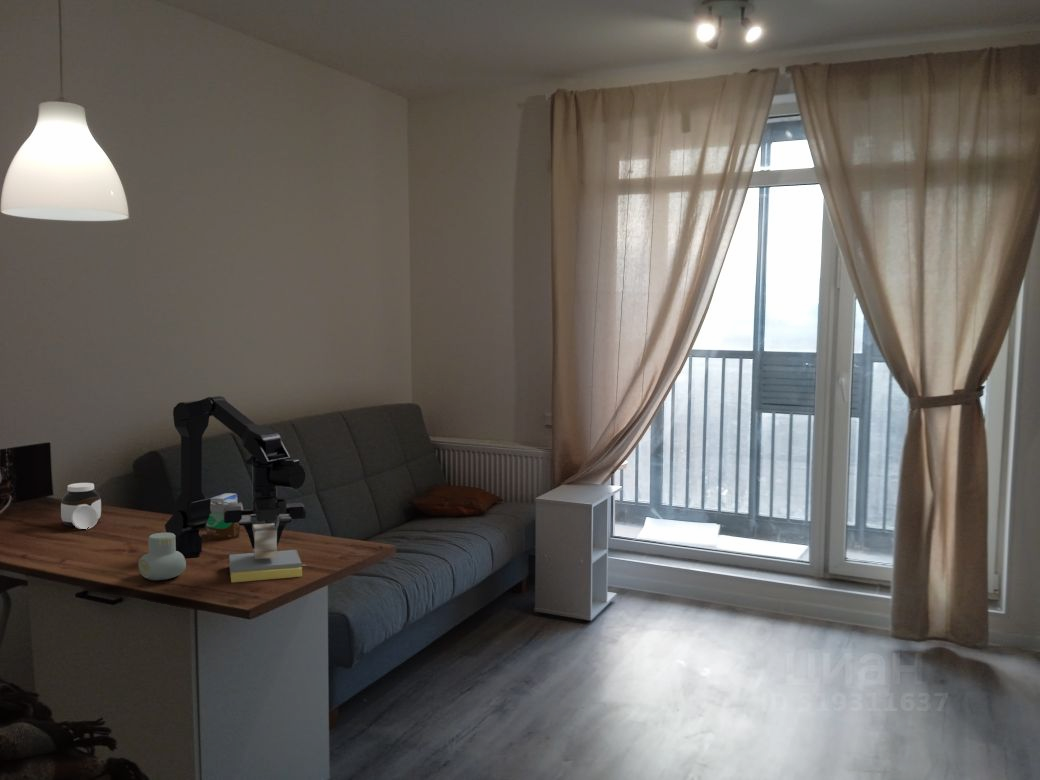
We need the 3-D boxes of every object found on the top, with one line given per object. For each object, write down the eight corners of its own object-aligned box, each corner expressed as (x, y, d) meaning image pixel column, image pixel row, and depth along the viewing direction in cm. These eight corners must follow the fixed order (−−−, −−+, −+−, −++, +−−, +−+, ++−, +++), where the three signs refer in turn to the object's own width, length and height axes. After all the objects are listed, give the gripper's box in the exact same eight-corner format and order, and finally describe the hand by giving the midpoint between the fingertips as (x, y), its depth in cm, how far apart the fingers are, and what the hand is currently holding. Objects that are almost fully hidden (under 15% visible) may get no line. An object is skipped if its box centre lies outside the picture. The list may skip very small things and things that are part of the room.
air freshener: (189, 579, 197) (189, 537, 196) (153, 586, 191) (153, 543, 190) (170, 568, 204) (170, 528, 203) (135, 575, 199) (134, 533, 198)
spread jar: (85, 519, 250) (84, 480, 249) (115, 523, 246) (114, 484, 245) (51, 528, 239) (50, 488, 238) (81, 532, 235) (80, 491, 234)
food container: (192, 537, 232) (192, 502, 231) (208, 532, 238) (208, 497, 237) (227, 543, 228) (227, 506, 227) (243, 537, 233) (243, 502, 233)
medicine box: (223, 528, 243) (223, 498, 243) (209, 527, 244) (209, 497, 243) (238, 522, 251) (237, 493, 250) (224, 521, 252) (224, 492, 251)
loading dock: (231, 582, 195) (231, 569, 194) (229, 566, 207) (229, 554, 206) (302, 576, 200) (302, 564, 200) (296, 561, 212) (296, 549, 212)
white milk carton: (255, 559, 199) (255, 532, 198) (253, 550, 206) (253, 524, 206) (277, 557, 201) (277, 530, 200) (274, 548, 208) (274, 522, 208)
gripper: (224, 492, 191) (225, 559, 193) (308, 488, 198) (308, 553, 199) (223, 483, 202) (223, 547, 203) (303, 479, 208) (302, 541, 210)
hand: (264, 547), depth 203 cm, fingers closed on white milk carton, 5 cm apart
